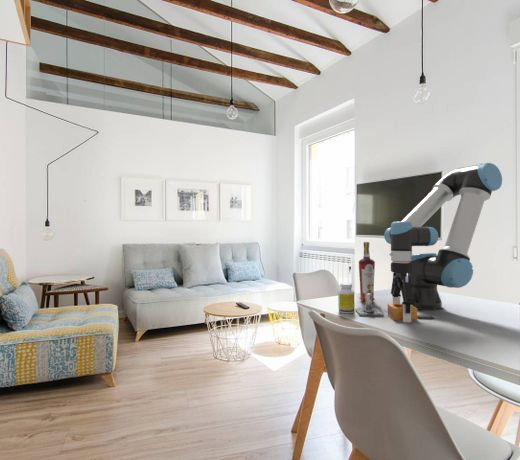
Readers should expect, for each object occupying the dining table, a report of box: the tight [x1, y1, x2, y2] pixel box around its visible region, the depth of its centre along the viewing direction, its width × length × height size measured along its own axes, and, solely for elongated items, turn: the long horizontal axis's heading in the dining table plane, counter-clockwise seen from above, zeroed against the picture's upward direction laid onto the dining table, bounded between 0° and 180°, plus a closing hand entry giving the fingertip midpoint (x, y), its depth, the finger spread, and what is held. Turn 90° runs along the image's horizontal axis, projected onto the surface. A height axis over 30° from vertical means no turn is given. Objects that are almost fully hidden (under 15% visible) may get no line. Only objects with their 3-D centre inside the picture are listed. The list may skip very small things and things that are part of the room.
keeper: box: [355, 293, 385, 318], centre depth 144 cm, size 11×9×8 cm
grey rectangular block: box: [417, 314, 436, 320], centre depth 136 cm, size 6×2×1 cm, turn 84°
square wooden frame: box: [387, 303, 418, 322], centre depth 136 cm, size 8×8×4 cm
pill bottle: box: [337, 282, 356, 314], centre depth 147 cm, size 6×6×12 cm
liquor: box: [358, 241, 376, 303], centre depth 168 cm, size 7×7×28 cm
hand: (401, 317), depth 136 cm, fingers open, 13 cm apart
